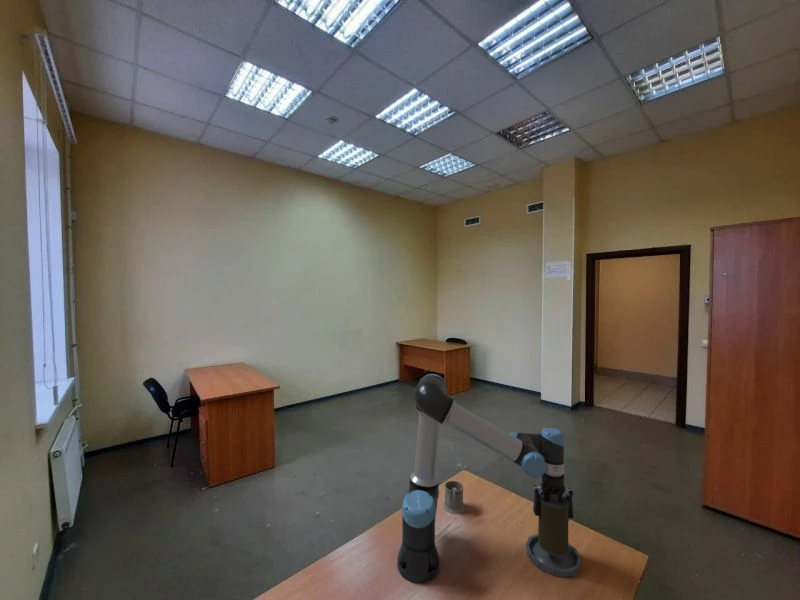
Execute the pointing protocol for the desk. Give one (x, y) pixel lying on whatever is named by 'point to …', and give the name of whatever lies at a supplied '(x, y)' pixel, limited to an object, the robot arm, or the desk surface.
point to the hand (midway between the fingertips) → (552, 534)
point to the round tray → (553, 559)
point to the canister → (553, 525)
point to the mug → (453, 497)
